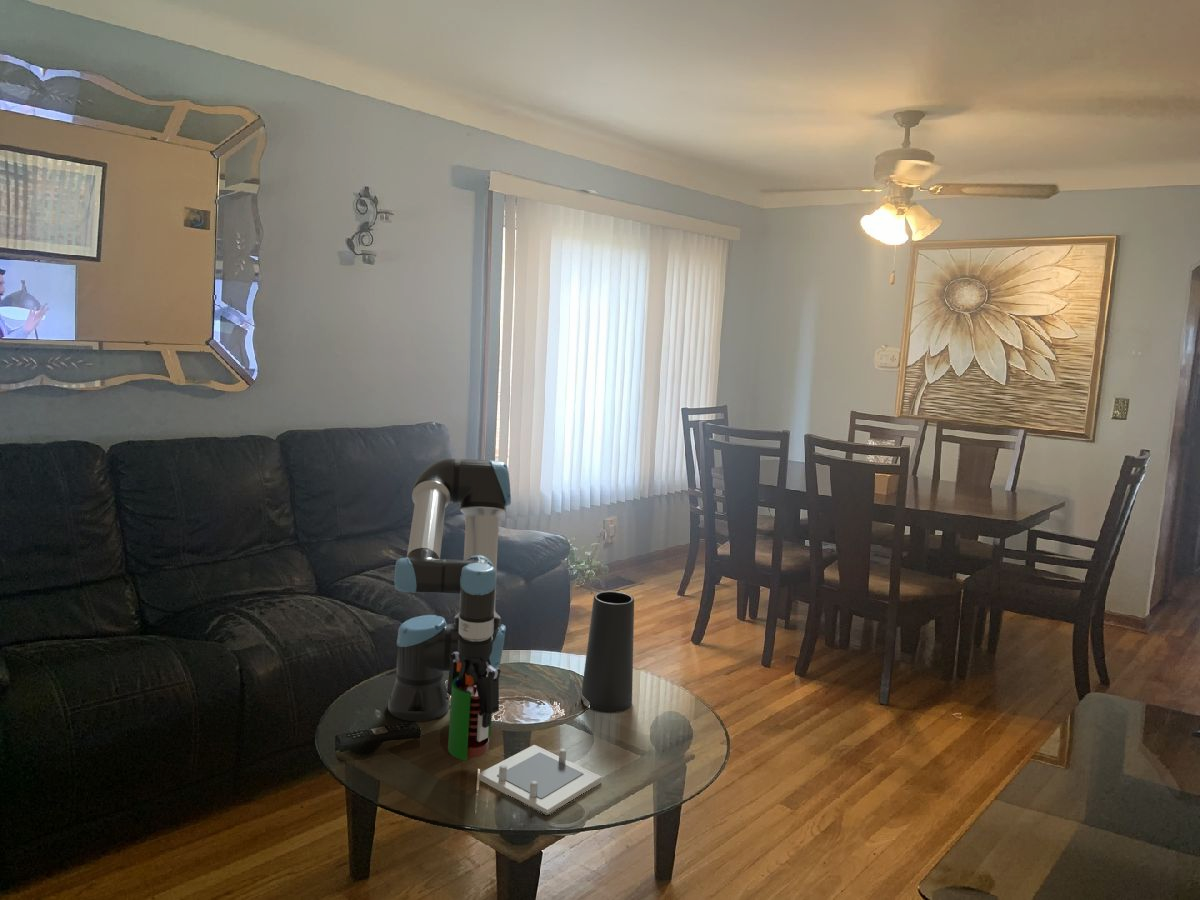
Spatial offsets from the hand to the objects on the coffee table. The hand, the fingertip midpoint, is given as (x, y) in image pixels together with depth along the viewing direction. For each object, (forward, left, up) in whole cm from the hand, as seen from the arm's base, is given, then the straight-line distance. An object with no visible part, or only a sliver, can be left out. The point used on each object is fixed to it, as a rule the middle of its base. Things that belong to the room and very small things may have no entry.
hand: (471, 732), depth 196 cm
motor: (-1, 0, -4) cm, 4 cm away
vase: (0, +50, -9) cm, 50 cm away
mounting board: (+14, +8, -9) cm, 19 cm away
